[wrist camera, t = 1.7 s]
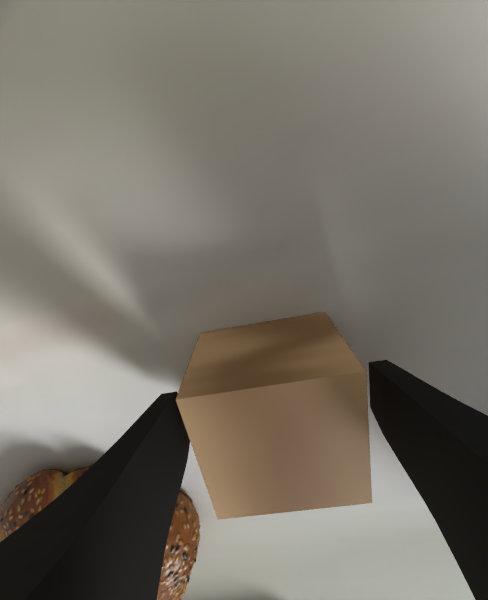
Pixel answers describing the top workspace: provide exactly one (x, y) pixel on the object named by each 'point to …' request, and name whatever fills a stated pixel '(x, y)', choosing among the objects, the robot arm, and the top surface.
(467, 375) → the top surface
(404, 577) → the top surface
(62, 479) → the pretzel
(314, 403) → the teak block
